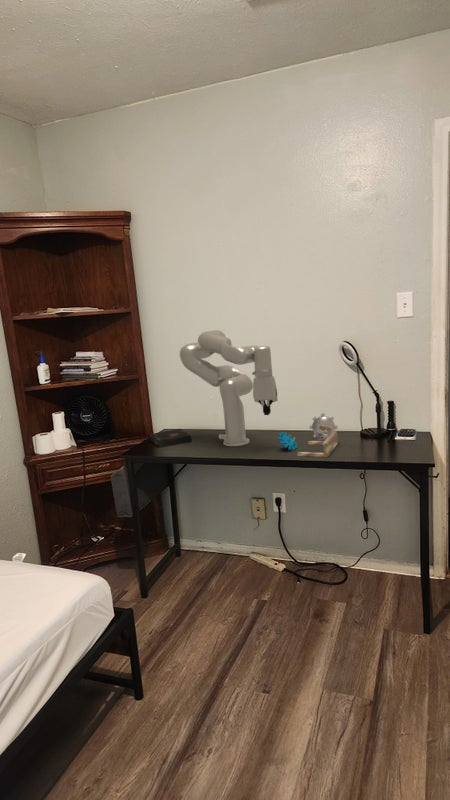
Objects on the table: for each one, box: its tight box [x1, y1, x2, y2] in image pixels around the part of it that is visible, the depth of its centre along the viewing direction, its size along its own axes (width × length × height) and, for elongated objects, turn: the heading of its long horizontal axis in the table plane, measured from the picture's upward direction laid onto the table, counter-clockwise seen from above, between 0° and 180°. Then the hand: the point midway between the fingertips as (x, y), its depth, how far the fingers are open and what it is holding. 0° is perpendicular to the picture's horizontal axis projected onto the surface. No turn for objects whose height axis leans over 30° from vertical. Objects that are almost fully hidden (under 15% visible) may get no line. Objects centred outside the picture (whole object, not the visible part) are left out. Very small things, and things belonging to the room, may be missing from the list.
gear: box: [309, 412, 339, 441], centre depth 235 cm, size 12×3×13 cm, turn 66°
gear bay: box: [296, 430, 338, 458], centre depth 225 cm, size 13×20×6 cm, turn 156°
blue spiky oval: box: [277, 431, 298, 451], centre depth 231 cm, size 11×6×10 cm
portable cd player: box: [149, 428, 193, 448], centre depth 262 cm, size 16×17×4 cm
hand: (267, 414), depth 231 cm, fingers closed
